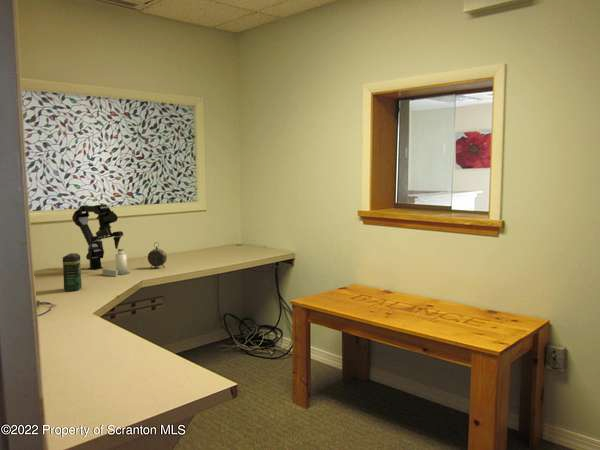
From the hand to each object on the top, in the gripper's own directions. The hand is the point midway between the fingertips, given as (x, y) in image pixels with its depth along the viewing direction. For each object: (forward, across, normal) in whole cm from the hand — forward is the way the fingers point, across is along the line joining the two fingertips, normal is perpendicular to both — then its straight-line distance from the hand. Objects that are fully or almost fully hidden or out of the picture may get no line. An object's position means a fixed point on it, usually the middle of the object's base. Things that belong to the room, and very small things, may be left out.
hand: (109, 250), depth 310 cm
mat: (+15, +7, -4) cm, 17 cm away
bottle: (+15, +7, -4) cm, 17 cm away
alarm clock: (+16, +22, +14) cm, 30 cm away
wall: (+15, +3, -11) cm, 19 cm away
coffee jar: (+18, +1, -46) cm, 49 cm away
